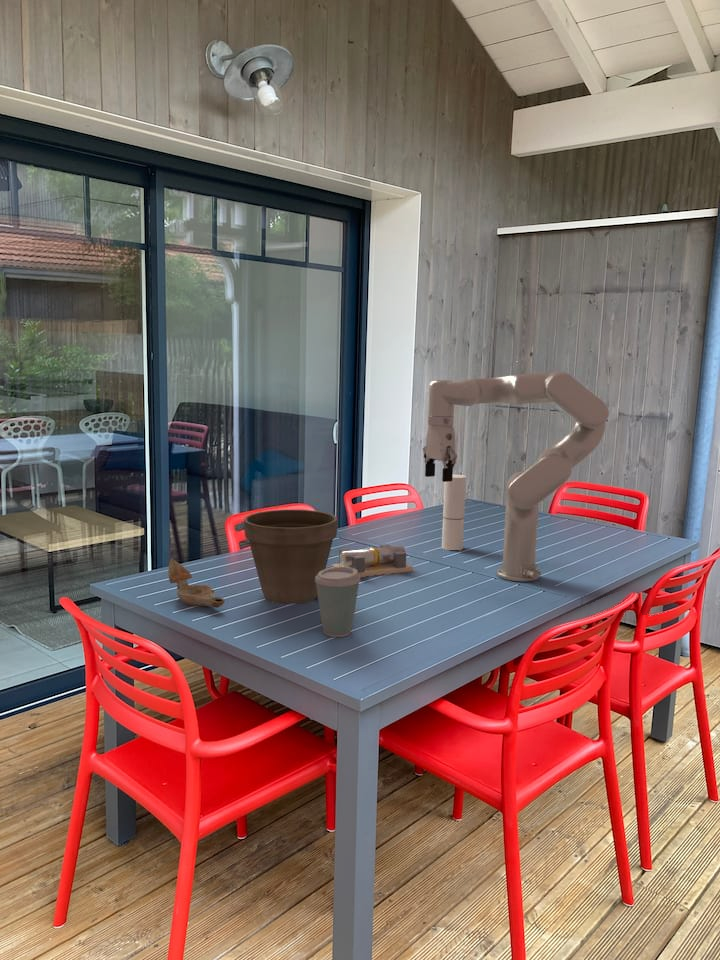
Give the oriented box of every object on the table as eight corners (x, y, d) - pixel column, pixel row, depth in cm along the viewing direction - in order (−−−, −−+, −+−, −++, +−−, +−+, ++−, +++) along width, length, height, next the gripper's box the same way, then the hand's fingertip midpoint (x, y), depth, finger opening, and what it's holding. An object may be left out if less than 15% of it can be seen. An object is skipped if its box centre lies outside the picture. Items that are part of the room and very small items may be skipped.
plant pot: (235, 586, 215) (235, 510, 212) (319, 579, 224) (320, 506, 220) (255, 615, 192) (255, 530, 188) (348, 606, 201) (350, 524, 197)
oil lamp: (185, 591, 210) (184, 555, 209) (235, 609, 196) (235, 571, 195) (158, 598, 204) (157, 561, 202) (208, 617, 190) (208, 578, 188)
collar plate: (412, 571, 234) (413, 552, 233) (347, 579, 224) (347, 559, 223) (394, 562, 244) (395, 543, 243) (331, 569, 234) (331, 550, 234)
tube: (397, 559, 241) (397, 543, 240) (405, 564, 236) (406, 547, 235) (339, 566, 232) (339, 549, 231) (346, 570, 227) (346, 553, 226)
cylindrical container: (462, 546, 267) (465, 474, 263) (463, 551, 260) (466, 478, 256) (441, 545, 267) (444, 473, 263) (441, 550, 260) (444, 477, 256)
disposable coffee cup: (330, 644, 174) (331, 580, 172) (305, 629, 183) (305, 568, 180) (368, 635, 180) (369, 573, 178) (342, 621, 189) (343, 562, 186)
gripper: (467, 424, 223) (465, 482, 225) (436, 419, 238) (433, 474, 241) (445, 424, 219) (443, 484, 222) (415, 419, 235) (413, 475, 237)
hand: (438, 478), depth 231 cm, fingers open, 9 cm apart
